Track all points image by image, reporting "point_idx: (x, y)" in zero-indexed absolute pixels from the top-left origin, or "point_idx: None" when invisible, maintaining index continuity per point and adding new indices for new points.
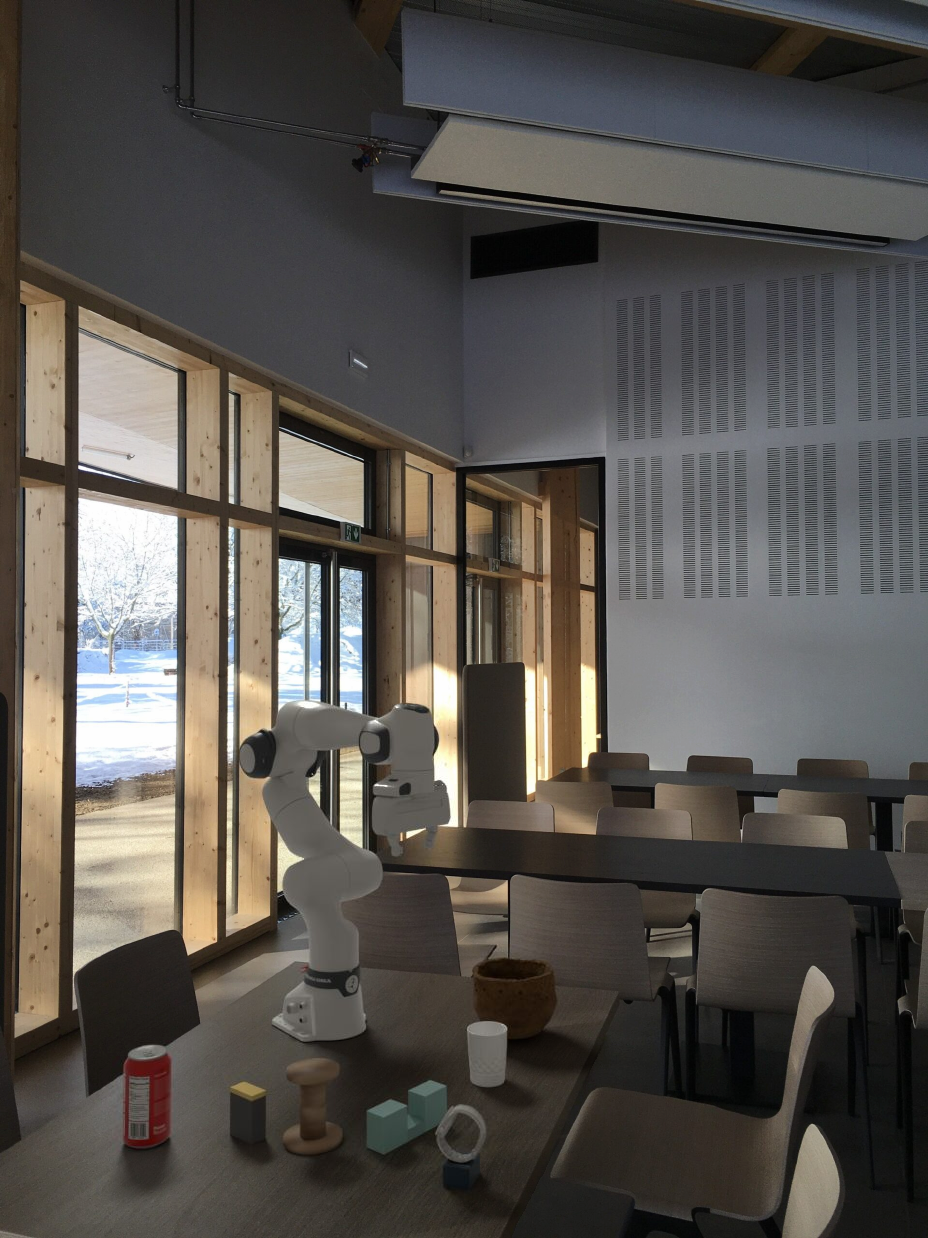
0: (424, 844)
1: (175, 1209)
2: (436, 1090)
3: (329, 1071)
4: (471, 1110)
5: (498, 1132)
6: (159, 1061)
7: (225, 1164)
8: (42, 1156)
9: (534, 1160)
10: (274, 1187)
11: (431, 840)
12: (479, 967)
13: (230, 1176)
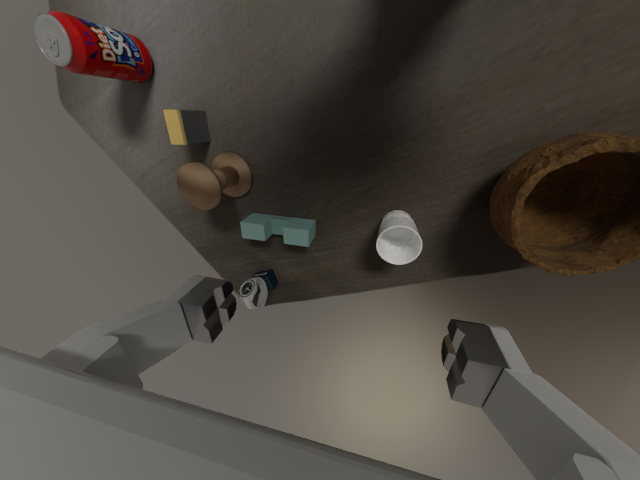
0: (461, 344)
1: (138, 168)
2: (297, 244)
3: (205, 204)
4: (251, 308)
5: (323, 270)
6: (68, 67)
7: (175, 148)
8: (68, 7)
9: (308, 299)
10: None
11: (485, 406)
12: (597, 153)
13: (173, 164)
